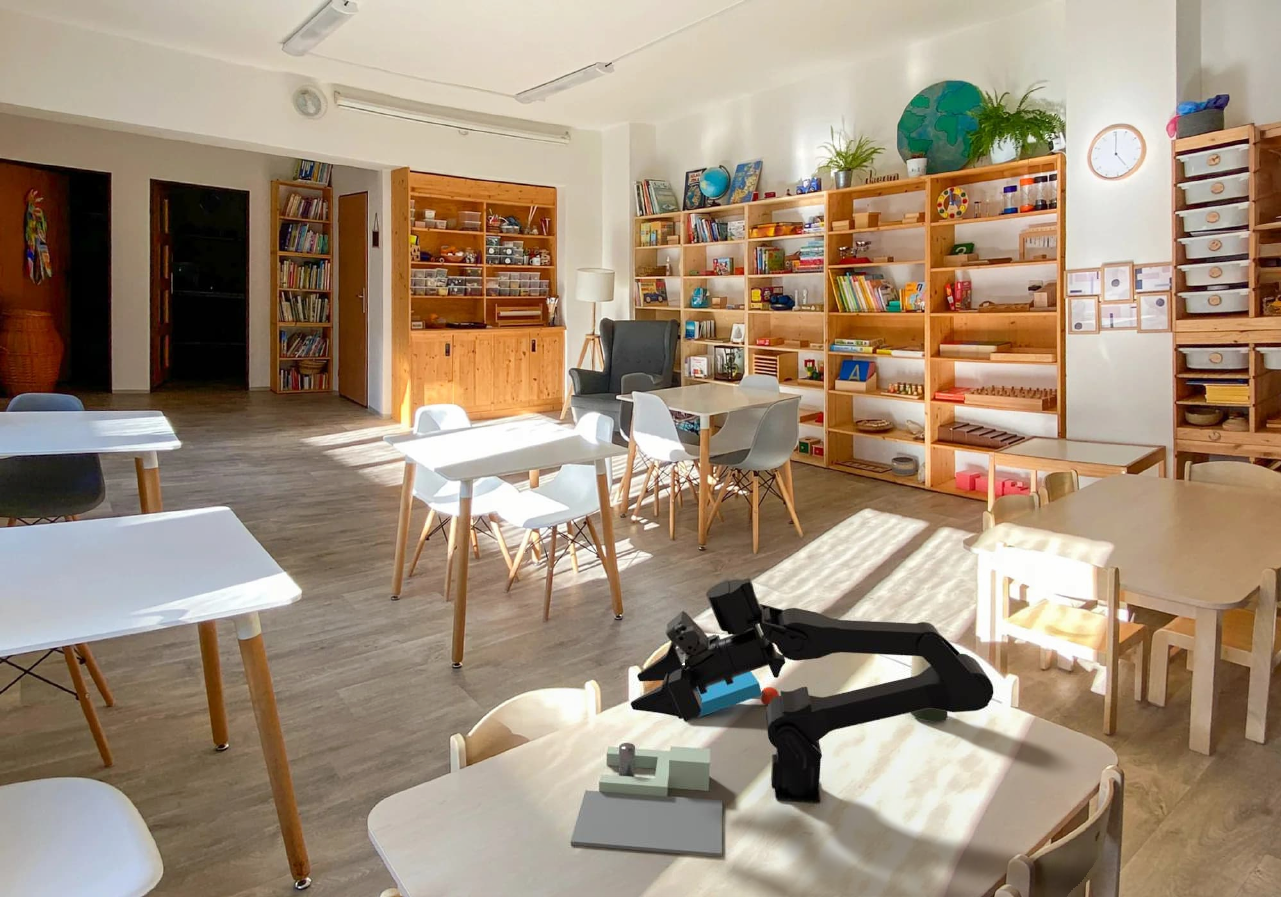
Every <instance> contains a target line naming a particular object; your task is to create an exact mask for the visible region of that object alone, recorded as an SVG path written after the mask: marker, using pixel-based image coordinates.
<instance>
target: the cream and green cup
mask: <svg viewBox="0 0 1281 897" xmlns="http://www.w3.org/2000/svg"><path fill="white" fill-rule="evenodd" d="M910 663H911V665H910V677H913V676H917V675H919V674H921V673H922V672H923V671H925V670H926V669H927V668H928V667H930V666H931V665H930V664H929V663H928V662H927V661H926V660H925V659H924V658H923V657H921V656H911V662H910ZM910 714H911V715H912V716H913V717H915V718H916V719H918V720H922V721H928V722H929V721H930V722H940V721H946V720H947V719H946V718H948V711H942V710H936V709H924V710H920V711H916V712H911V713H910Z"/></svg>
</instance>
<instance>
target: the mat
mask: <svg viewBox="0 0 1281 897" xmlns="http://www.w3.org/2000/svg"><path fill="white" fill-rule="evenodd" d="M722 839H723V800H721V799H710V798H709V799H708V798H707V799H706V798H695V797H694V798H693V797H681V796H679V797H678V796H668V795H667V796H656V795H642V794H629V793H616V792H602V791H599V790H588V789H587V790H584V794H583V798H582V801H581V804H580V808H579V811H578V816H577V819H576V821H575V825H574V829H573V833H572V836H571V839H570V845H571V846H585V847H593V848H594V847H596V848H597V847H598V848H607V849H610V848H611V849H620V850H631V851H645V852H646V851H647V852H658V853H670V854H682V855H693V856H694V855H695V856H705V857H706V856H707V857H718V858H721V857H722V854H723V853H722V851H723V848H722V846H723V843H722V841H723V840H722Z"/></svg>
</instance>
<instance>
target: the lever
mask: <svg viewBox="0 0 1281 897" xmlns="http://www.w3.org/2000/svg"><path fill="white" fill-rule="evenodd" d="M697 689H698V687H697ZM698 691H699V689H698ZM699 693H700V692H699ZM700 695H701V698H702V709H701V712H700V714H699V717H698V718H700V717H703V716H706V715H708V714H712V713H714V712H717V711H720V710H723V709H725V708H728V707H731V706H736V705H737V704H740V703H742V702H745V701H748V700H751V699H752V700H760V701H761V703H762V704H763V705H764V704H765V705H764V706H766V705H769V703H770V702H771V700H772V699H773V698H775V697H778V696H780V694H779V691H778V690H777V689H776V688H775V687H771V686H767V687H764V688H763V689H762V688H761V685H760V682H759V680H757V678H756V677H755V675H754V674H753V671H750V672H747V673H745V674H742V675H739V676H736V677H734V683H732V684H729V685H727V684H726V682H725V681H722V682H719V683H717V684H714V685H711V686H708V687H707V693H704V694H700Z"/></svg>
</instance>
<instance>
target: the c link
mask: <svg viewBox="0 0 1281 897" xmlns="http://www.w3.org/2000/svg"><path fill="white" fill-rule="evenodd" d="M710 763H711V748H700V747H689V746H688V747H687V746H686V747H684V746H675V745H674V746H673V745H671V746H670V749H669V750H664V749H663V750H660V749H649V748H648V749H647V748H635V768H643V769H655V774H654V778H652V777H642V776H641V777H640V776H634V777H629V776H619V775H615V774H600V776H599V782H598V791H602V792H616V793H629V794H642V795H656V796H668V793H669V789H678V790H693V791H706V792H707V791H708V792H709V790H710V788H709V787H710V765H711V764H710ZM606 766H614V767H615V766H616V767H619V746H618V747H615V746H608V748H607V751H606Z"/></svg>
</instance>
